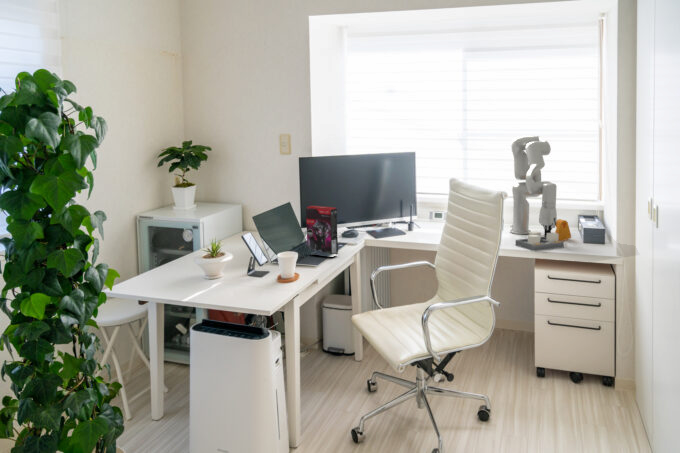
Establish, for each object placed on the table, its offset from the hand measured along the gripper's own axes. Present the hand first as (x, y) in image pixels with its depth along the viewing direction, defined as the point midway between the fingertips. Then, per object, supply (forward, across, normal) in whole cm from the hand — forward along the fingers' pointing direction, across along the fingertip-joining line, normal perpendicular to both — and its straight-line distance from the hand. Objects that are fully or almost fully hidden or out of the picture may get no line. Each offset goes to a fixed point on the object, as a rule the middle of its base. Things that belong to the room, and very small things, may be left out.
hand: (547, 236), depth 356 cm
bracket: (+5, -8, +15) cm, 18 cm away
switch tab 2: (+2, +5, -13) cm, 14 cm away
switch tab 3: (+2, +4, 0) cm, 5 cm away
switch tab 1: (+2, -3, -7) cm, 8 cm away
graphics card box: (+5, -33, -126) cm, 130 cm away
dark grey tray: (+5, +1, -6) cm, 8 cm away
